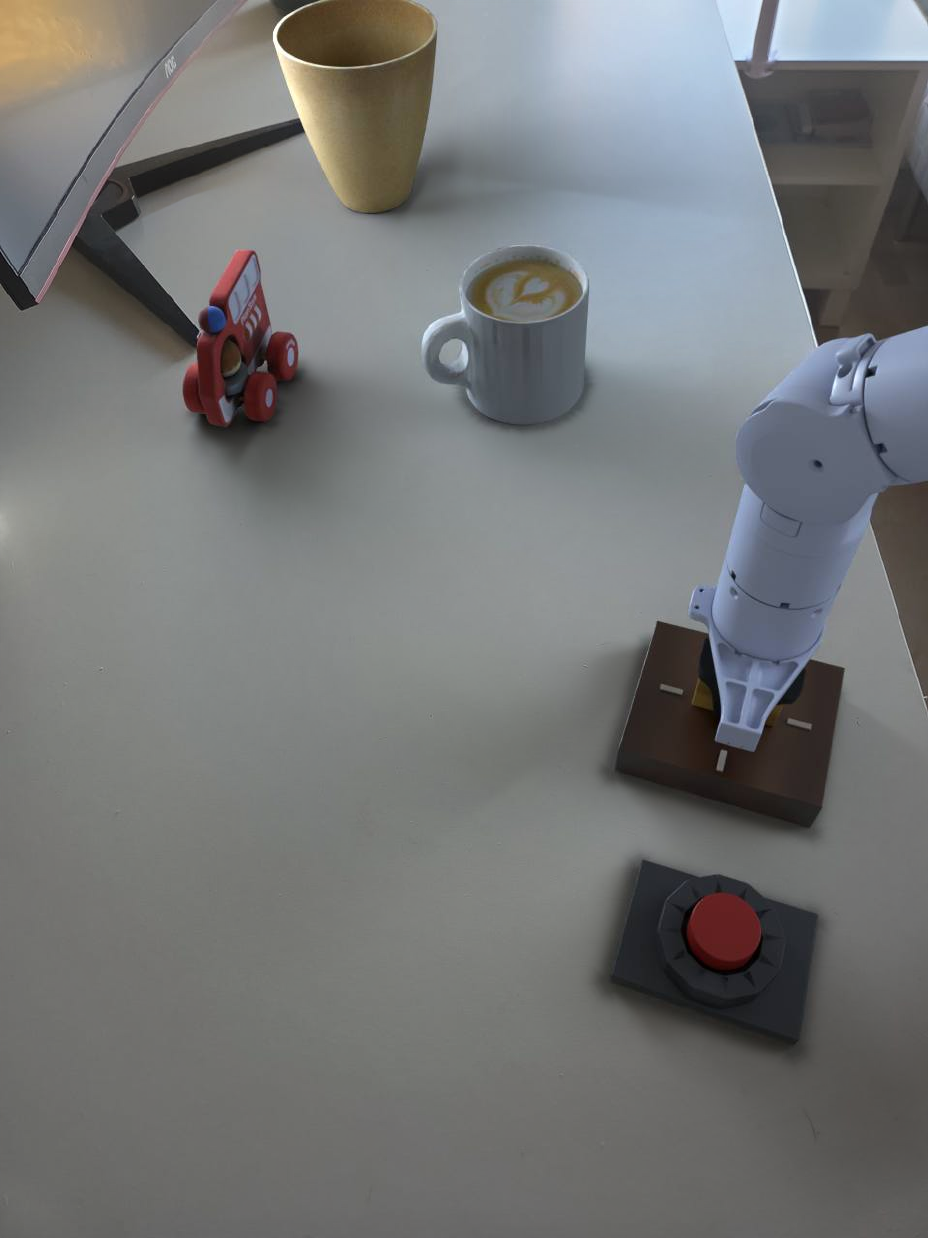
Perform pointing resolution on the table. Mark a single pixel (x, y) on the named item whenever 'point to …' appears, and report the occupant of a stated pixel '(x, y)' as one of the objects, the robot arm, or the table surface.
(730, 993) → the dark grey button mount
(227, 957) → the table surface
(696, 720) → the plate
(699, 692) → the yellow rectangular block
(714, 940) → the bell button
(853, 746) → the table surface
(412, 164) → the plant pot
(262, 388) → the toy fire truck
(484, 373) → the coffee mug
